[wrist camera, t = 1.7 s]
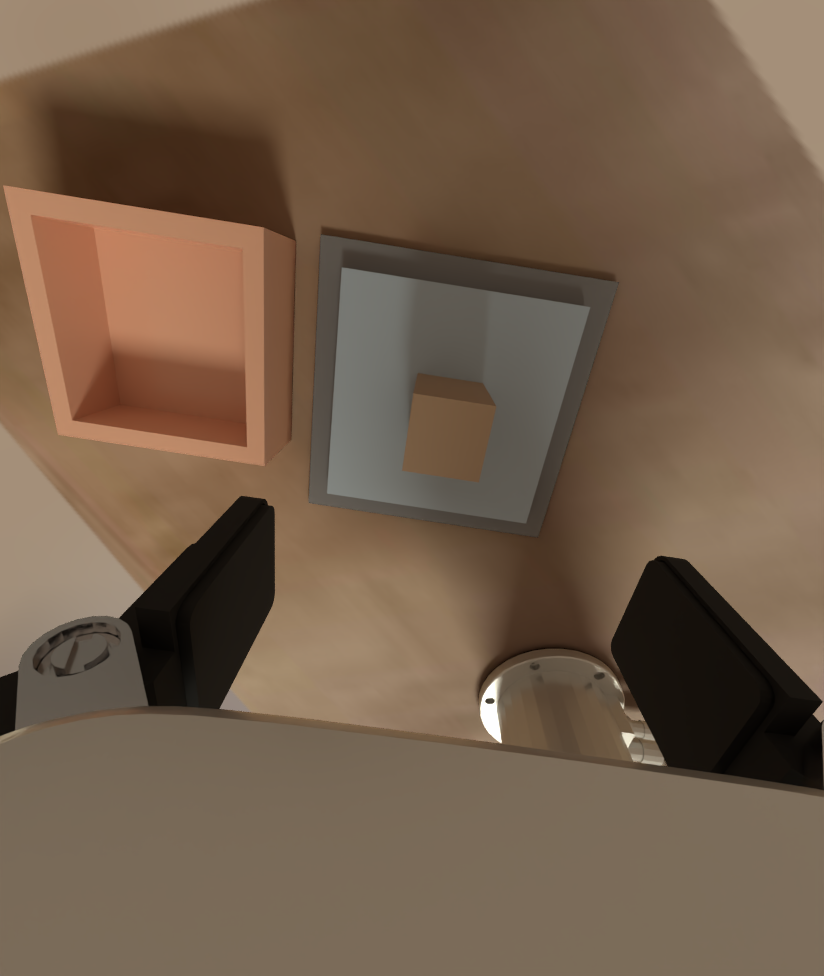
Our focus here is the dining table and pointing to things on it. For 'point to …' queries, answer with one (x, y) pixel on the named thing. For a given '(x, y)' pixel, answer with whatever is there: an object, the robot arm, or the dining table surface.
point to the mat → (459, 274)
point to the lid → (446, 393)
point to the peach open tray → (160, 325)
